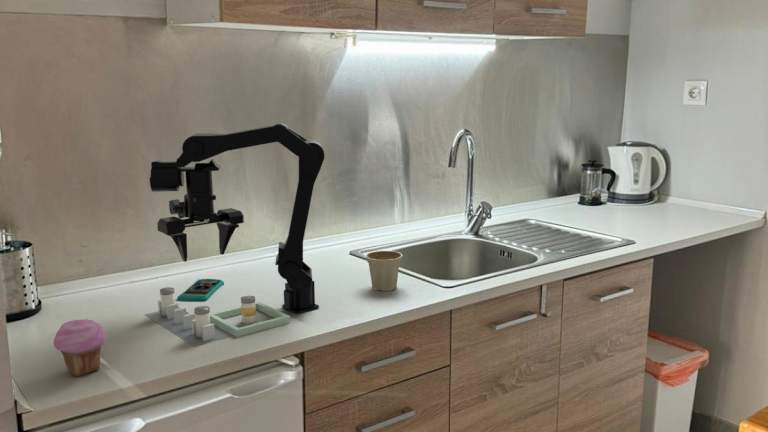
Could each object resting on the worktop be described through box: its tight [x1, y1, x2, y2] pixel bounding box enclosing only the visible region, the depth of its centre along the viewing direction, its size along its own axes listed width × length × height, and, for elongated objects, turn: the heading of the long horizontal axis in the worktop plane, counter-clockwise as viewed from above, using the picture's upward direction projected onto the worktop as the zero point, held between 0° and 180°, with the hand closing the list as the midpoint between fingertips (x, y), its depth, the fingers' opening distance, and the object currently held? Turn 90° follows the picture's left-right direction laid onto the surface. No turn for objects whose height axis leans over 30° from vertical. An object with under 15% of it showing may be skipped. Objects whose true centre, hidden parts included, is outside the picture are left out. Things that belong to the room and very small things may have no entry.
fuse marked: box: [240, 295, 257, 325], centre depth 158 cm, size 3×3×6 cm
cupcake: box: [53, 318, 107, 377], centre depth 136 cm, size 9×9×10 cm
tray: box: [210, 301, 291, 338], centre depth 159 cm, size 13×13×3 cm
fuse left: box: [159, 286, 176, 317], centre depth 162 cm, size 3×3×6 cm
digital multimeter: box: [176, 278, 225, 302], centre depth 180 cm, size 7×15×3 cm, turn 175°
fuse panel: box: [144, 299, 231, 347], centre depth 157 cm, size 8×25×4 cm, turn 40°
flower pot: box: [365, 250, 403, 292], centre depth 185 cm, size 9×9×9 cm
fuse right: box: [193, 305, 211, 339], centre depth 150 cm, size 3×3×6 cm
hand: (203, 257), depth 166 cm, fingers open, 9 cm apart
